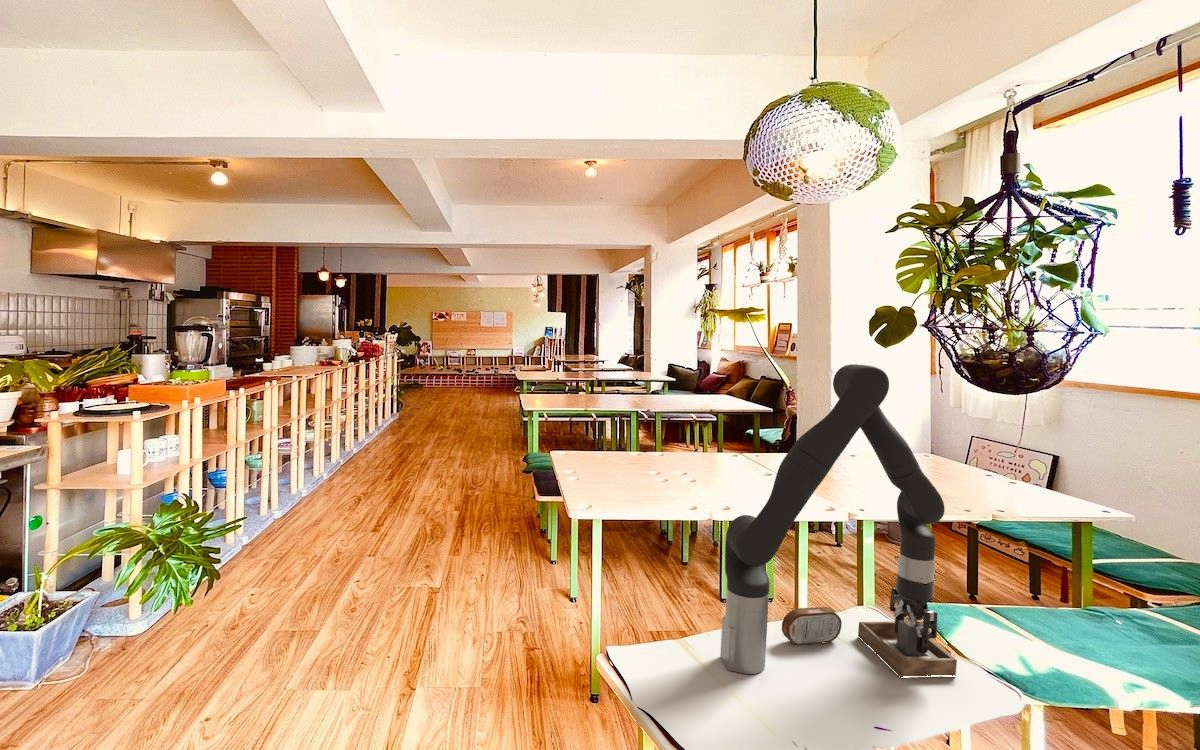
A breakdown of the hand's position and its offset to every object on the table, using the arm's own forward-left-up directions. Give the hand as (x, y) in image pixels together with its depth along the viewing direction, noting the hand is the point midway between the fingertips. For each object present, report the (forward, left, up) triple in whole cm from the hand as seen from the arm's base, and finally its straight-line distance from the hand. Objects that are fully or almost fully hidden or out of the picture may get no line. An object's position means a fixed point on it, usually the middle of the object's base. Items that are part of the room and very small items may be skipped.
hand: (910, 642), depth 141 cm
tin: (-20, +9, -5) cm, 22 cm away
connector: (0, 0, -4) cm, 4 cm away
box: (0, +2, -4) cm, 5 cm away
